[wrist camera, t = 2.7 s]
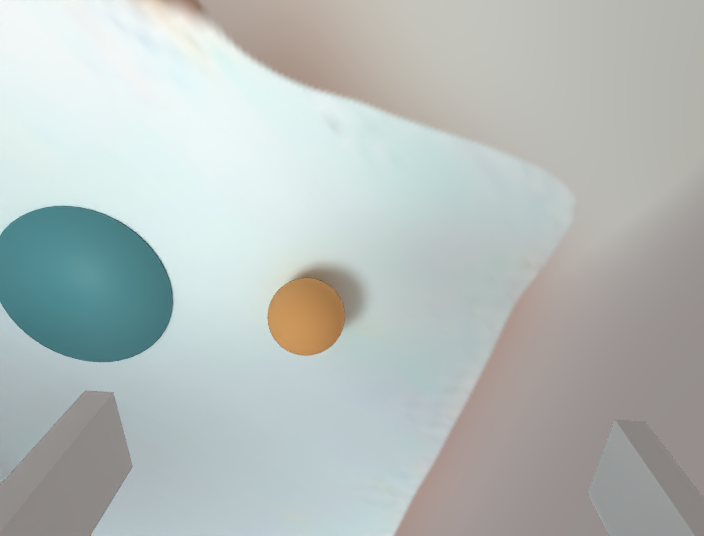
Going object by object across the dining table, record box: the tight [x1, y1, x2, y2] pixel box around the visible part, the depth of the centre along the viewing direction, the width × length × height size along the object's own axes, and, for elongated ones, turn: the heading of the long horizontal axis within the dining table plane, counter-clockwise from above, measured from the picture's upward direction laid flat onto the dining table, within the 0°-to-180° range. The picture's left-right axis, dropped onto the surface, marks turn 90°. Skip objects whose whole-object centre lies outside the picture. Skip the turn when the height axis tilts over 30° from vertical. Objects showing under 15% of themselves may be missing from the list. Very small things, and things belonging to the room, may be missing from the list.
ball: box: [268, 278, 345, 355], centre depth 31 cm, size 6×6×6 cm
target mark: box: [0, 206, 172, 362], centre depth 33 cm, size 13×13×1 cm
